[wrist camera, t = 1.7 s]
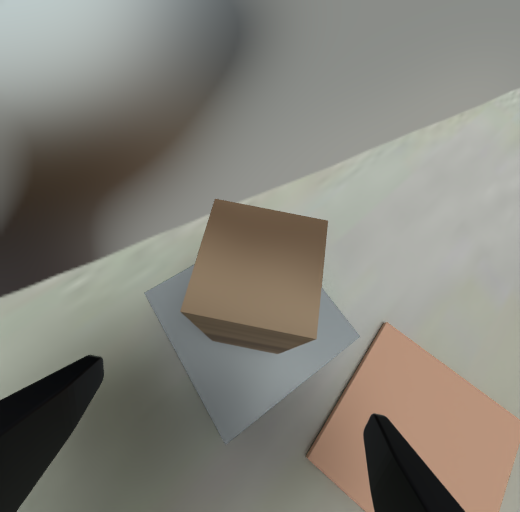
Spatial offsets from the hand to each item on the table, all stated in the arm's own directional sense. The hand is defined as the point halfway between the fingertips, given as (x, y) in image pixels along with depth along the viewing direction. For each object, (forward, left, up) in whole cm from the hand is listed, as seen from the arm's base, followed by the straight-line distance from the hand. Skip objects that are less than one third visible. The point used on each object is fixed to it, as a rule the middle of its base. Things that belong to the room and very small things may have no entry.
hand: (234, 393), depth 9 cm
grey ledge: (+3, -3, -11) cm, 12 cm away
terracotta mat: (-10, -8, -11) cm, 17 cm away
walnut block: (+3, -3, -9) cm, 10 cm away
